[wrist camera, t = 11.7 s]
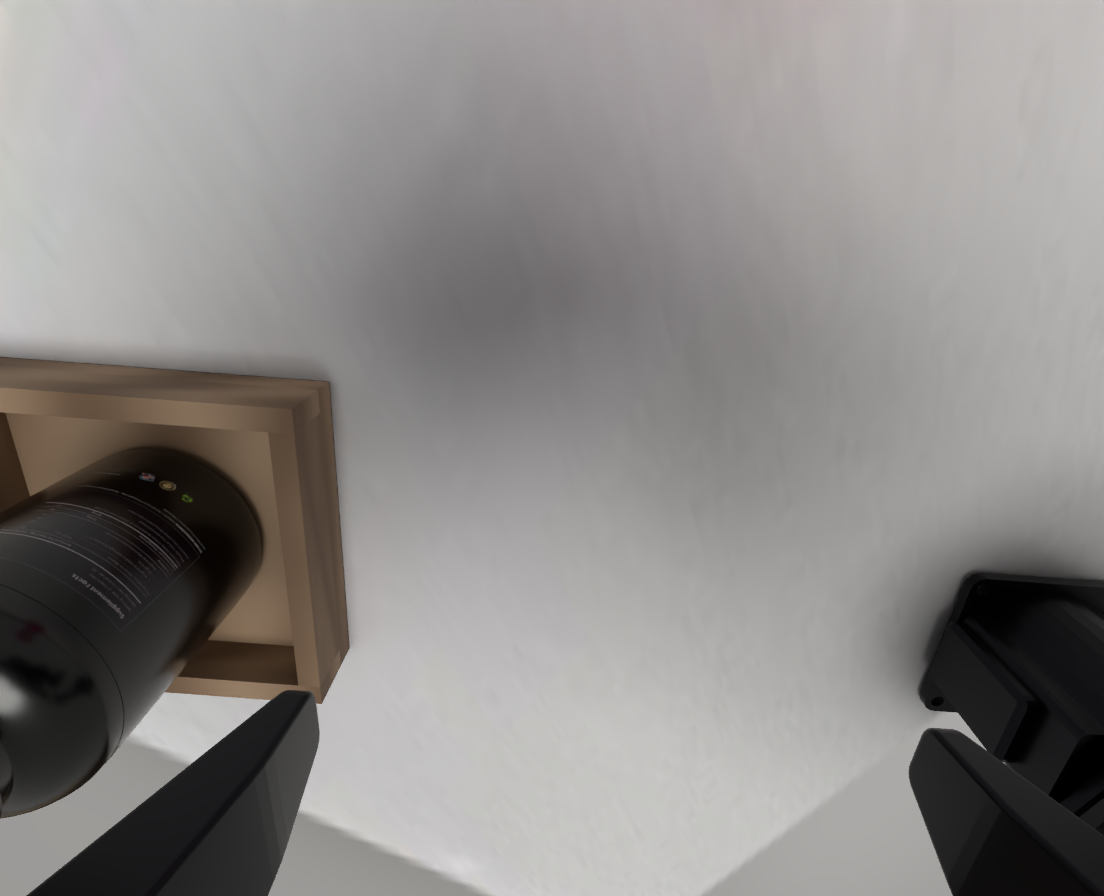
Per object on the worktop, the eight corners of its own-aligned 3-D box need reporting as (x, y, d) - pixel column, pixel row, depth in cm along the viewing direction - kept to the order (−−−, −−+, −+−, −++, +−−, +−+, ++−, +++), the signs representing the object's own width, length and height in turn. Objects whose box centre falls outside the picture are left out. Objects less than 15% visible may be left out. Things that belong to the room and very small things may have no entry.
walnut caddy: (329, 381, 20) (291, 409, 18) (349, 648, 25) (321, 703, 22) (-7, 356, 20) (-96, 380, 18) (73, 627, 25) (11, 680, 22)
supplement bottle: (232, 632, 23) (-71, 1015, 12) (60, 552, 22) (-446, 897, 11) (299, 503, 21) (2, 830, 10) (111, 405, 20) (-462, 655, 9)
